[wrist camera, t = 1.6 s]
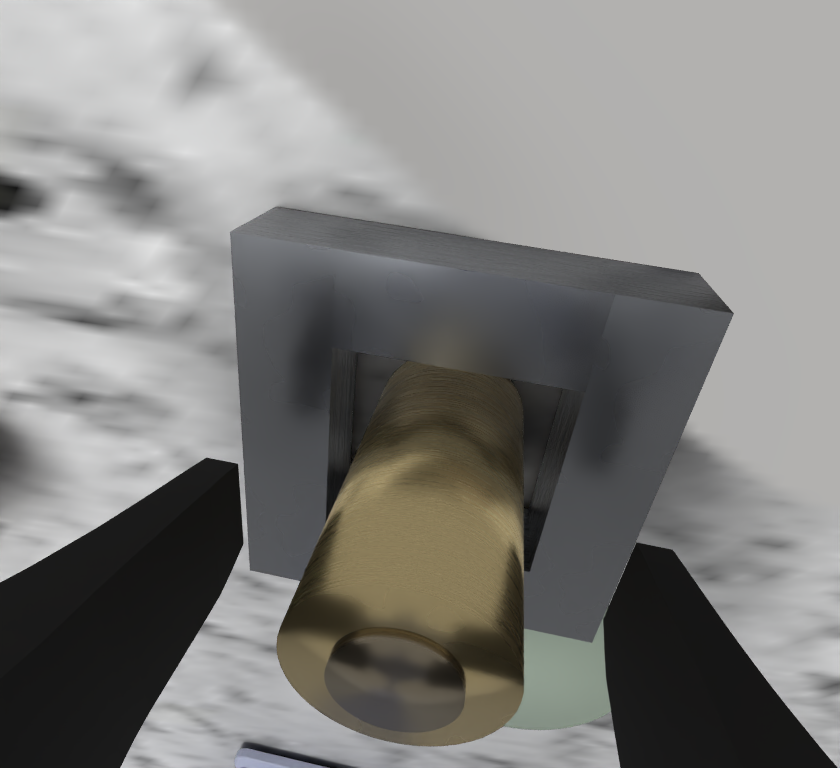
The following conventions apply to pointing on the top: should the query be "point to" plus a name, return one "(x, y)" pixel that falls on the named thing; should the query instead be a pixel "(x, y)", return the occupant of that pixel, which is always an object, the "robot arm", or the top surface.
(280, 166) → the top surface
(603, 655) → the mat
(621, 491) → the housing
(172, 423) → the top surface
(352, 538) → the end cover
